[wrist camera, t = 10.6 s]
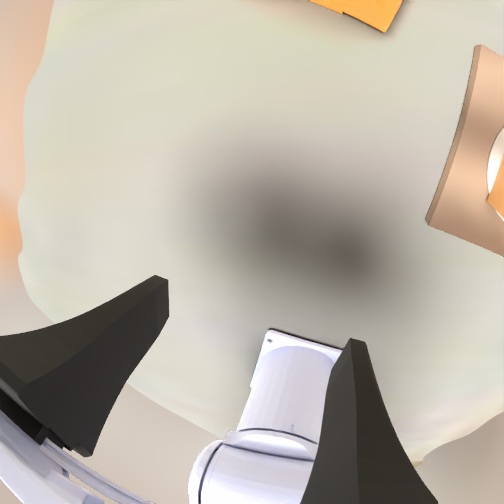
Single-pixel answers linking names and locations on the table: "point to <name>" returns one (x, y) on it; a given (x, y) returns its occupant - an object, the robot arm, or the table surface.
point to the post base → (475, 159)
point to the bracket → (366, 10)
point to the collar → (498, 191)
